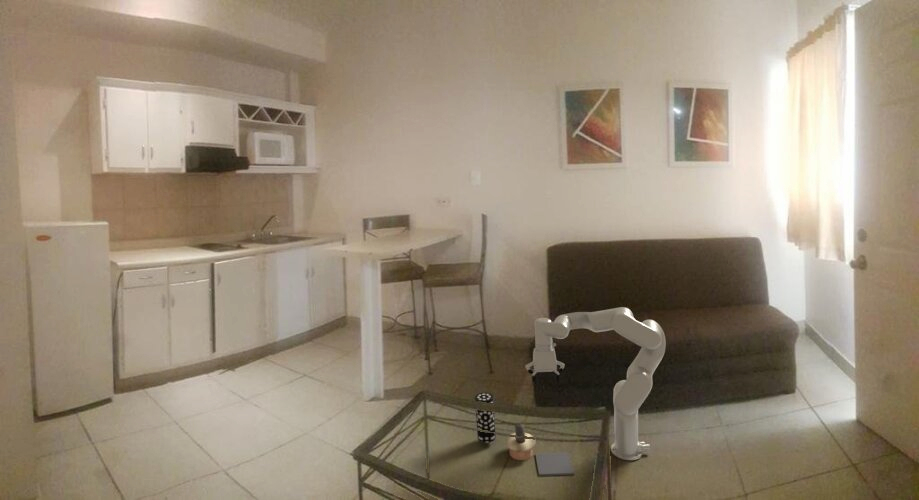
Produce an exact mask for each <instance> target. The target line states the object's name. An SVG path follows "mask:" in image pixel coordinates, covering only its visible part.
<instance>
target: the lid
mask: <svg viewBox="0 0 919 500" xmlns="http://www.w3.org/2000/svg"><path fill="white" fill-rule="evenodd" d="M517 424H520V425H516V424H515V425H514V427H515V428H514V430H515V432H513V433H510V434H509V435H516V436H527V437H534V436H533V435H532V434H530V433H527V432H526V429H525V428H526V427H525V424H524V423H520V422H519V423H517ZM536 443H537V441H536V439H535V440H533V439H525V438H515V437H508V436H507V437H506V438H505V445H506V447H507V448H508V449H511V450H514V451H518V452H524V451H528V450H531V449H534V448H535V446H536Z"/></svg>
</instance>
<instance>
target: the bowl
mask: <svg viewBox="0 0 919 500" xmlns="http://www.w3.org/2000/svg"><path fill="white" fill-rule="evenodd" d="M508 449H509V448H508ZM533 449H534V448H533ZM533 449H531V450H528V451H524V452H518V451H514V450H511V449H509V456H510V457H511V458H512V459H513V460H518V461H526V460H530V459H531V458H532V456H533V455H534V450H533Z"/></svg>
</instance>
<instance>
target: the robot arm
mask: <svg viewBox="0 0 919 500" xmlns="http://www.w3.org/2000/svg"><path fill="white" fill-rule="evenodd" d="M577 329H587V330H589V331H591V332H594V333H601V332H608V331H615V332H616V333H617V334H619V335H620V336H622V337H623V338H625V339H626V340H628V341H630V342H632V343H634V344H635V345H637V346H639V347H641V348H640V349H639V351H638V353H637V355H636V356H635V358H634V359H633V361H632V362H631V364H630V365H629V367H628V368H627V371H626V379H622V380H619V381H618V382H616V383H615V386H614V387H613V397H612V401H613V413H614V414H613V415H614V417H613V419H614V421H613V424H614V425H613V426H614V431H613V432H614V443H612V444H611V446H610V451H611V453H612V454H613V455H614V456H615V457H616V458H618V459H621V460H624V461H635V460H636V461H637V460H639V459H641V458H642V457H643V450H651V446H650V443H649V444H648V443H647V444H646V443H645V441H639V409H640V408H641V406H642V404H644V401H645V400H646V399H647V397H648V396H649V394H651V390H652V388H653V375H654V373H655V371H656V369H657V368H658V366H659V364H660V363H661V361H662V359H663V357H664V355H665V352H666V345H667V344H666V343H667V342H666V340H667V339H666V336H665V332H664V330H663V328H662V327H661V325H660V324H659V322H656V321H655V320H653V319H645V320H643V321H641V322H640V321H639V320H636V318H635V317H634V313H633V311H631V309H629V308H628V307H624V306H620V307H615V308H609V309H604V310H597V311H591V312H590V311H575V312H569V313H564V314H560V315H559V316H558V315H557V316H556V317H555V319H554V321H552V320H551V319H550V318H548V317H539V318H536V319H535V320H534V340H535V347H534V348H533V352H532V361H531V362H529V363H526V364H525V370H526V371H527V372H528V373H529V374H530V375H531V382H532V383H534V385H537V377H536V374H537V373H546V372H554V381H555V384H559V381H560V374H561V373H562V372H563V370H564V368H565V363H564V362H562V361H559V360H557V355H556V351H555V347H557V343H556V342H553V338H554V339H558V340H562V339H565V338H567V337H568V336H569V334H570V331H571V330H577ZM558 366H560V367H558ZM531 367H533V369H531Z"/></svg>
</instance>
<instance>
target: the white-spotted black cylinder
mask: <svg viewBox="0 0 919 500" xmlns="http://www.w3.org/2000/svg"><path fill="white" fill-rule="evenodd" d="M475 400H476V401H482V402H487V403H494V395H493V394H492V393H489V392H480V393H477V394H476V395H474V401H475ZM475 419H476V421H475V422H476V432H477V433H476V435H477V440H478V441H479V442H481V443H485V444H487V443H492V442H494V441H496V438H497V437H496V436H497V435H496V434H497V433H496V421H495V420H496V419H495V411H494V412H491V411H481V410H476V409H475ZM477 429H481V430H486V431H490V432H495V433H496V434H494V433H488V432H480V431H477Z"/></svg>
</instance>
